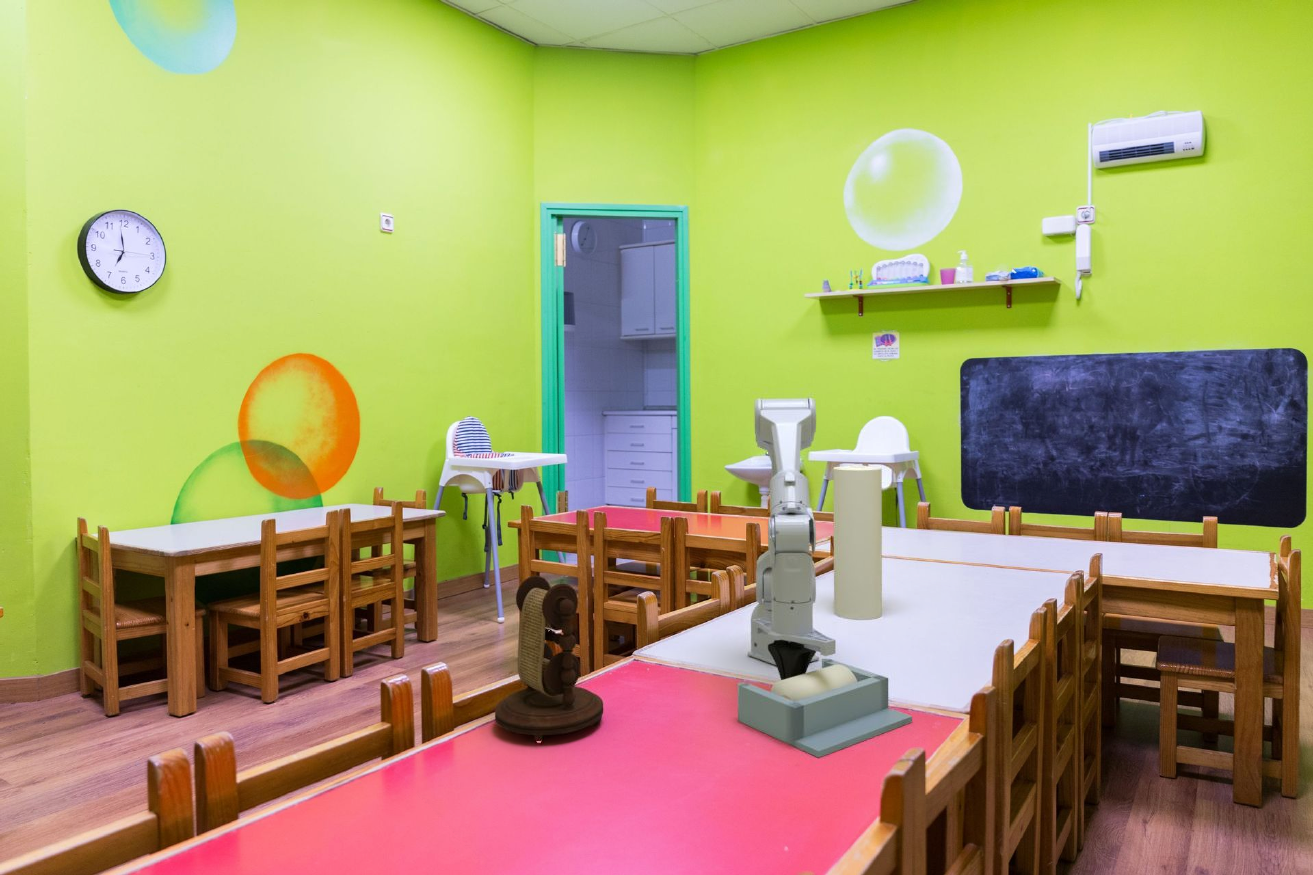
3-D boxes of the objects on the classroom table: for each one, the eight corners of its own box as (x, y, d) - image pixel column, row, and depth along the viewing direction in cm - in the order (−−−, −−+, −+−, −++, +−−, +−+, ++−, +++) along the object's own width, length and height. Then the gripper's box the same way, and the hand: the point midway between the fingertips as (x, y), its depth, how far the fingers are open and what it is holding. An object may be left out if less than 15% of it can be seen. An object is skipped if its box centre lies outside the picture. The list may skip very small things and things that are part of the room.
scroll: (475, 722, 117) (471, 579, 116) (564, 696, 126) (561, 564, 125) (532, 756, 105) (528, 598, 104) (625, 725, 115) (622, 580, 114)
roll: (780, 671, 113) (761, 700, 117) (809, 710, 109) (788, 739, 113) (840, 654, 120) (820, 682, 123) (868, 690, 116) (847, 719, 119)
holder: (735, 719, 116) (735, 683, 116) (827, 690, 127) (826, 657, 127) (818, 757, 104) (818, 717, 103) (912, 721, 114) (912, 685, 114)
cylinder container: (883, 620, 165) (883, 467, 163) (834, 618, 167) (833, 467, 165) (880, 608, 174) (880, 463, 173) (833, 606, 176) (833, 463, 175)
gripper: (736, 593, 123) (737, 685, 123) (809, 613, 111) (810, 714, 112) (771, 586, 127) (772, 675, 127) (846, 605, 115) (846, 702, 116)
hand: (792, 693), depth 120 cm, fingers closed
